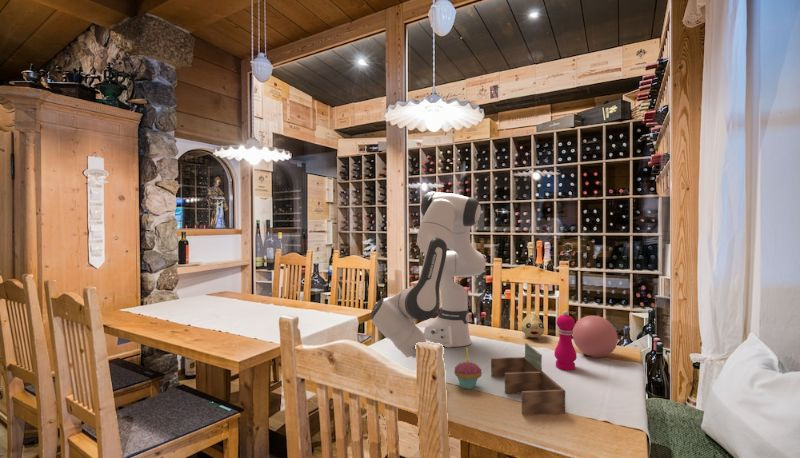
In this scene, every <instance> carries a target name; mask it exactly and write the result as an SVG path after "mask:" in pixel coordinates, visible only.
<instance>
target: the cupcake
mask: <svg viewBox="0 0 800 458" xmlns="http://www.w3.org/2000/svg"><path fill="white" fill-rule="evenodd" d="M465 359H466V360H465V361H463V362H460V363H458V364H456V366H454V371H453V373H454V375H455V377H456V378H457V380H458V384H459V386H460V387H461V388H463V389H475V387H476V384H477V381H478V379H479V378H481V376H482V368H480V366H479V365H478V364H476V363H473V362H472V361H470V362H469V348H468V347H466V348H465Z"/></svg>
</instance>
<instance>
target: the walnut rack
mask: <svg viewBox="0 0 800 458" xmlns="http://www.w3.org/2000/svg"><path fill="white" fill-rule="evenodd" d="M542 358H543V357H542V354H541V353H540V352H539V351H538V350H536V349H535V348H534V347H532V346H531V345H530V344H529V343H525V344H524V356H518V357H517V356H515V357H514V356H513V357H491V358H490V376H491V377H492V378H493V377H494V378H498V377H500V378H501V377H504V394H507V395H509V394H512V395H513V394H521V414H522V416H525V415H527V416H528V415H550V414H565V413H566V390H565V389H564V388H563V387H562V386H560V385H559V384H558V383H557V382H556V381H555V380H554V379H552V377H550V376H548V374H546V373H545V372H544V371H542V370H543V369H542V367H543V366H542V360H543V359H542Z"/></svg>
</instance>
